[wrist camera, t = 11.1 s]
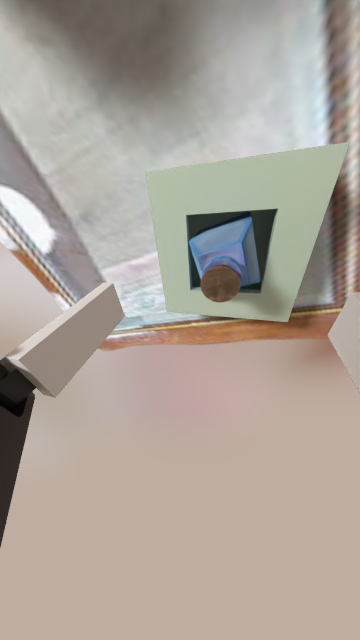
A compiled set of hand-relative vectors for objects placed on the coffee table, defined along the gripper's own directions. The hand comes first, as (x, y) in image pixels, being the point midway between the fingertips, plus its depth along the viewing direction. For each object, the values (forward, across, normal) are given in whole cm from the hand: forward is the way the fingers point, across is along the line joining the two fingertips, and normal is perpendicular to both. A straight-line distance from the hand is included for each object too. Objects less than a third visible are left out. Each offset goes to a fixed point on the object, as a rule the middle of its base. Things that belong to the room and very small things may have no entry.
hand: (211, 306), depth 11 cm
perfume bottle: (+16, 0, -1) cm, 16 cm away
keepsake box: (+17, 0, -1) cm, 17 cm away
